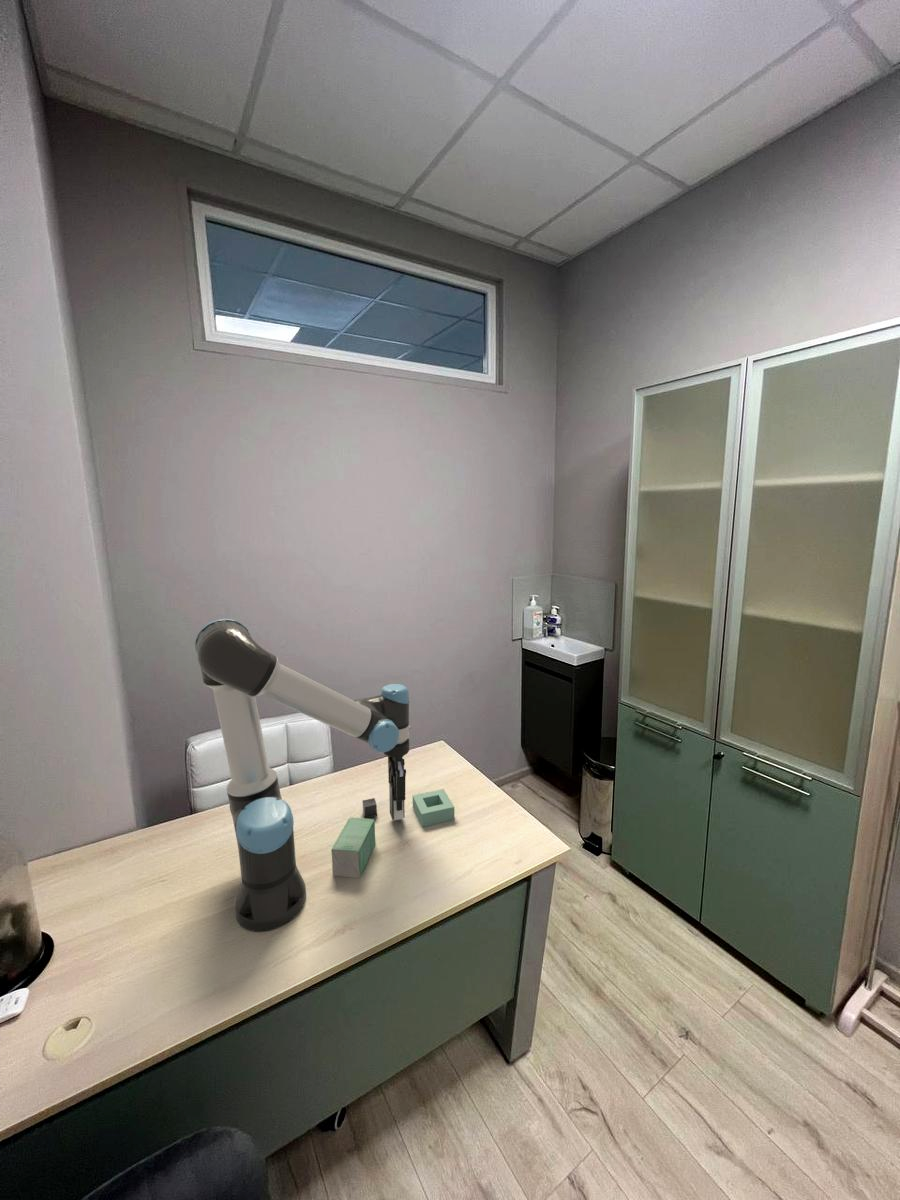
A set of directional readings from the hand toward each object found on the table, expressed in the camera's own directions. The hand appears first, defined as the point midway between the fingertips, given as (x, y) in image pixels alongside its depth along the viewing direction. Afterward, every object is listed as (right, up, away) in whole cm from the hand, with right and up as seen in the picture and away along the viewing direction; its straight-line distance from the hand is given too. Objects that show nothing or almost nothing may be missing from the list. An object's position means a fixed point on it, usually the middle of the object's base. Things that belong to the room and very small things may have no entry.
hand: (397, 814), depth 138 cm
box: (-9, -5, -14) cm, 18 cm away
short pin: (-9, -2, +4) cm, 10 cm away
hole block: (+10, -1, +4) cm, 11 cm away
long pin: (0, -1, 0) cm, 1 cm away
